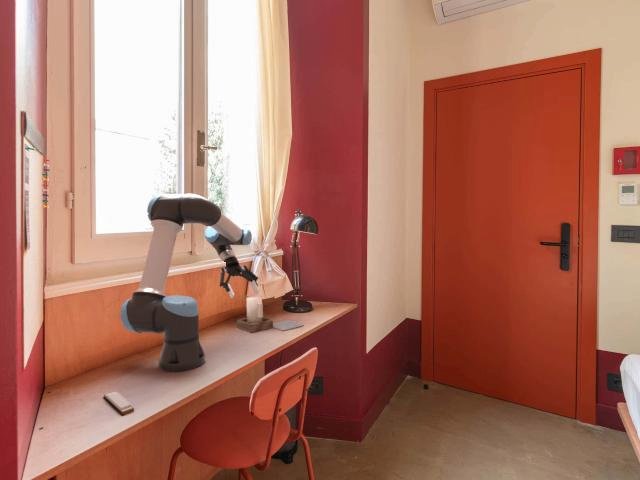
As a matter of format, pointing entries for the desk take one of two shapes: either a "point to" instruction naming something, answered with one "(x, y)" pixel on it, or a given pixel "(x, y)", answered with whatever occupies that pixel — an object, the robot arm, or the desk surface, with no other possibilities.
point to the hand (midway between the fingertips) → (245, 294)
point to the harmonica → (119, 403)
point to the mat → (286, 325)
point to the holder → (255, 325)
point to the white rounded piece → (254, 309)
